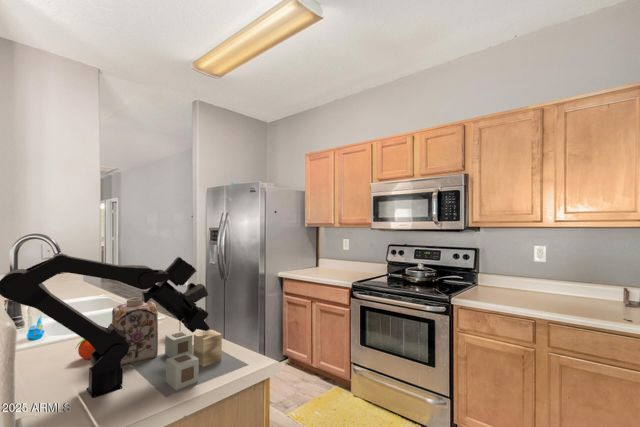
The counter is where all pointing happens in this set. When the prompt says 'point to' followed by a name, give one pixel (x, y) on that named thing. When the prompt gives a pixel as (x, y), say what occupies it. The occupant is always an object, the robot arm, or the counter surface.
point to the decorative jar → (138, 328)
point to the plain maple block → (208, 347)
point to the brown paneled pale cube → (178, 344)
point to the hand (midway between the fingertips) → (208, 329)
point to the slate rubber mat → (156, 372)
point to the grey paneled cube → (182, 370)
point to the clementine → (85, 349)
